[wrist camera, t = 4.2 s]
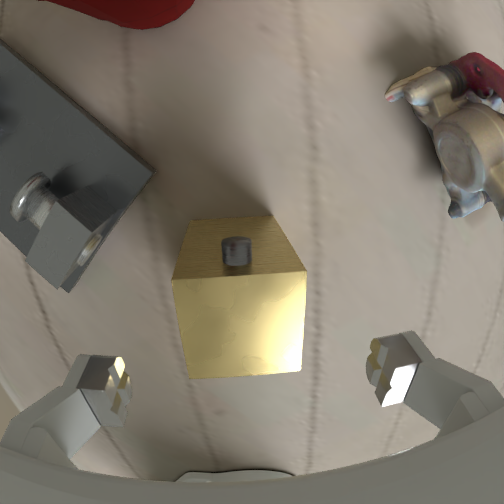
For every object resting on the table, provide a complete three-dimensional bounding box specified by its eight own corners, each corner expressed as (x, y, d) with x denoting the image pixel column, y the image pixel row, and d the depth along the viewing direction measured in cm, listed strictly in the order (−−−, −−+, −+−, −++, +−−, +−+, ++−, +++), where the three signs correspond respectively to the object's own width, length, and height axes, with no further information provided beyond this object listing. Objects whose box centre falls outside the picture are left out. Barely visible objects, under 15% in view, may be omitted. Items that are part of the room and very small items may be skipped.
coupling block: (273, 299, 21) (299, 382, 14) (199, 304, 21) (192, 390, 13) (272, 202, 19) (307, 250, 11) (189, 207, 18) (168, 259, 11)
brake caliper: (531, 171, 17) (580, 249, 9) (428, 193, 24) (426, 278, 16) (496, 43, 13) (553, 44, 5) (382, 74, 20) (362, 92, 12)
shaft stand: (75, 285, 19) (43, 326, 14) (-57, 150, 14) (-99, 162, 9) (156, 171, 17) (133, 185, 12) (-1, 38, 12) (-44, 26, 7)
